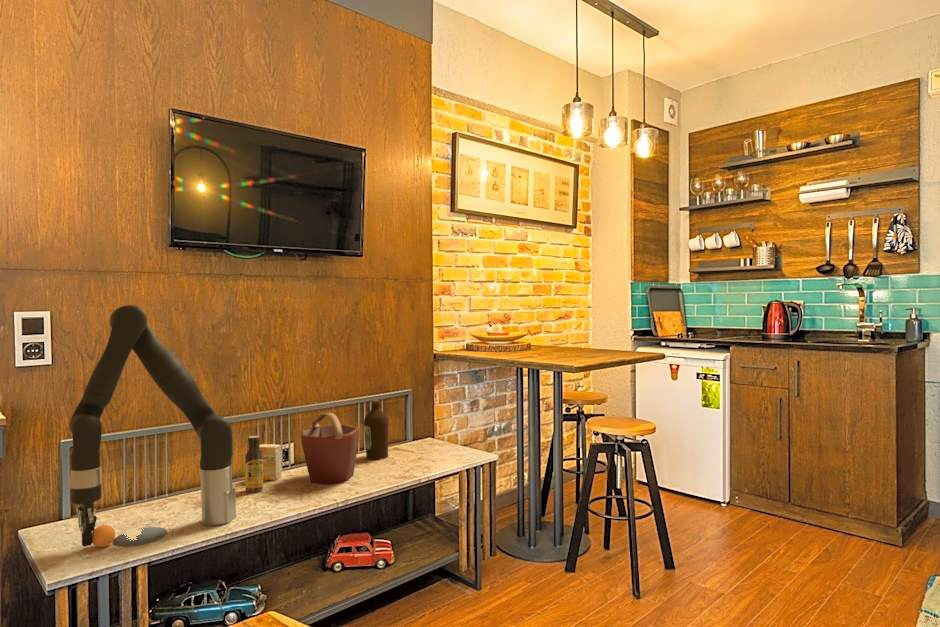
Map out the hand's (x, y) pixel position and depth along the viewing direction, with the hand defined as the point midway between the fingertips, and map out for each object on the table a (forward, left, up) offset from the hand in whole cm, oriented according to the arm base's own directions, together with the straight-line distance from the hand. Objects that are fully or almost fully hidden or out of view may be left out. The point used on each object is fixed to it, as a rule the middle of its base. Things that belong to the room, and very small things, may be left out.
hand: (86, 545), depth 170 cm
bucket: (-53, -66, -2) cm, 84 cm away
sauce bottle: (-28, -52, -2) cm, 59 cm away
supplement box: (-28, -67, -2) cm, 72 cm away
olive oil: (-65, -96, -2) cm, 115 cm away
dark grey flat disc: (-10, -10, -2) cm, 14 cm away
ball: (-3, -3, +1) cm, 4 cm away
